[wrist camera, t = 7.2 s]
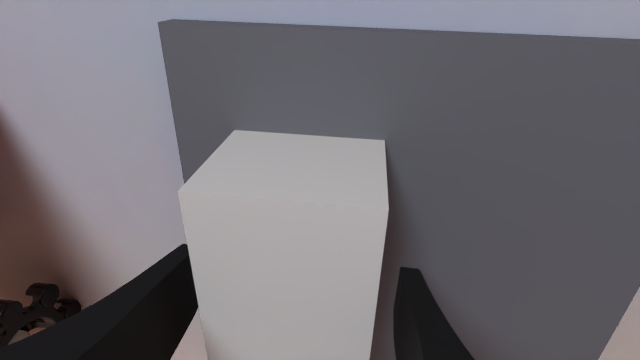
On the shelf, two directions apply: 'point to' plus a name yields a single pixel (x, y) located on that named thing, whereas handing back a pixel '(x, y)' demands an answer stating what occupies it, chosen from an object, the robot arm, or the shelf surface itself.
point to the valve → (34, 312)
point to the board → (453, 162)
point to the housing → (287, 245)
